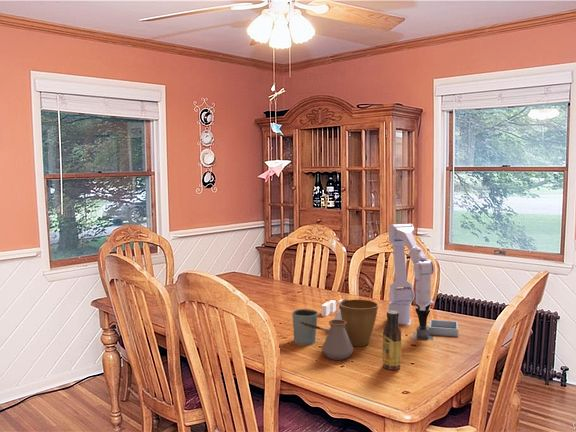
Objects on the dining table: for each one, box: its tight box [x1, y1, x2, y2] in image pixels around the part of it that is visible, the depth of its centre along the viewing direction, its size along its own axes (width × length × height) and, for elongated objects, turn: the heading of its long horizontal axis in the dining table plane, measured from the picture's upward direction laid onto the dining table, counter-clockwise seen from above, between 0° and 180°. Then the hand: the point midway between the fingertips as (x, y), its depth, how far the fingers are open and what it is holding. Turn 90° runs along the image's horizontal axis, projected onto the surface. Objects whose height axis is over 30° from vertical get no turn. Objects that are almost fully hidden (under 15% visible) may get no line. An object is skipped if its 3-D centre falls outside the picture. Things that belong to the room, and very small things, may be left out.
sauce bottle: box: [382, 310, 402, 371], centre depth 181 cm, size 7×6×20 cm
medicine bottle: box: [334, 298, 348, 320], centre depth 228 cm, size 7×7×12 cm
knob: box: [416, 321, 429, 339], centre depth 213 cm, size 5×5×7 cm
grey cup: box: [291, 308, 319, 346], centre depth 210 cm, size 10×10×12 cm
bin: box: [428, 319, 459, 337], centre depth 219 cm, size 11×11×4 cm
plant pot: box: [340, 299, 379, 347], centre depth 207 cm, size 15×15×16 cm
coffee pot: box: [298, 319, 354, 361], centre depth 191 cm, size 21×12×15 cm, turn 114°
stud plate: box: [411, 332, 434, 341], centre depth 213 cm, size 8×8×3 cm
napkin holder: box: [321, 299, 337, 317], centre depth 251 cm, size 15×11×6 cm
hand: (423, 323), depth 213 cm, fingers open, 7 cm apart
